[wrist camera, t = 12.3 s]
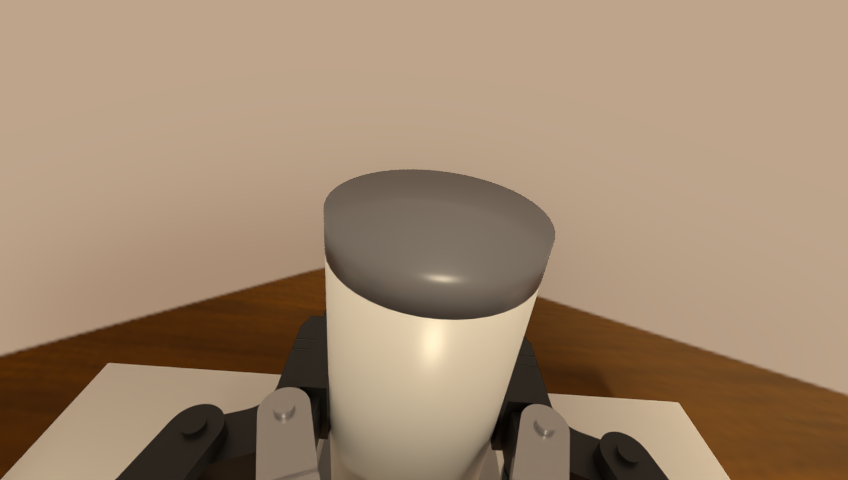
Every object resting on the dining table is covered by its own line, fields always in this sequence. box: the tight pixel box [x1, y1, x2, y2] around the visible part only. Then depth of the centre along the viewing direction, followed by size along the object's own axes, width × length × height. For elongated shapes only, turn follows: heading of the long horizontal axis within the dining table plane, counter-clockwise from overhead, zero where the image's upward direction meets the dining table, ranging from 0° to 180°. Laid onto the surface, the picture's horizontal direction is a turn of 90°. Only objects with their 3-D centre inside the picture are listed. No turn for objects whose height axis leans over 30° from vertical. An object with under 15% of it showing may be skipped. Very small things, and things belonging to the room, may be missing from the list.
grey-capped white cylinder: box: [324, 170, 555, 480], centre depth 12 cm, size 5×5×14 cm
